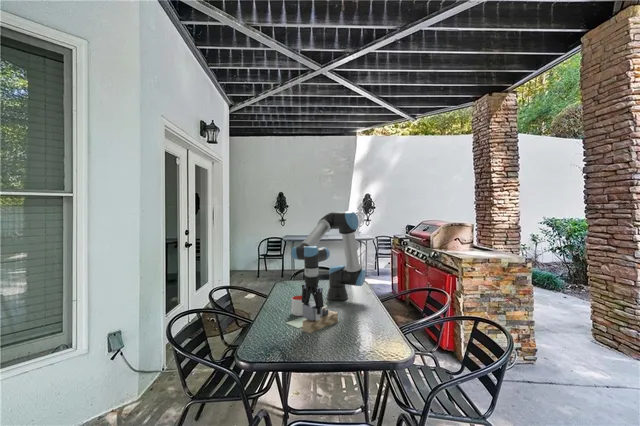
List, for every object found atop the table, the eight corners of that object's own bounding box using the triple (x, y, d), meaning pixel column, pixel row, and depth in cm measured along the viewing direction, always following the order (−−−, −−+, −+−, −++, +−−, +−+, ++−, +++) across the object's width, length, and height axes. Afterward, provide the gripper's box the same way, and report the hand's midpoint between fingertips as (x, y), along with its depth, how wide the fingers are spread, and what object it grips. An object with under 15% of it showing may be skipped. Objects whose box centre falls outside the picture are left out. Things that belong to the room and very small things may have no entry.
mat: (301, 317, 173) (301, 317, 173) (314, 322, 165) (314, 321, 165) (285, 323, 164) (285, 322, 164) (298, 328, 157) (298, 328, 157)
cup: (305, 317, 174) (305, 300, 174) (289, 316, 176) (289, 299, 176) (309, 311, 184) (309, 295, 184) (294, 310, 186) (294, 295, 186)
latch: (324, 313, 164) (323, 306, 164) (328, 315, 162) (328, 308, 162) (320, 315, 162) (320, 308, 162) (324, 316, 160) (324, 309, 160)
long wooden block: (330, 319, 170) (330, 310, 170) (337, 321, 166) (337, 312, 166) (302, 330, 154) (302, 321, 154) (309, 333, 150) (309, 323, 151)
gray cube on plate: (313, 313, 161) (313, 300, 161) (322, 316, 156) (322, 303, 156) (302, 317, 156) (302, 304, 156) (311, 320, 151) (311, 307, 151)
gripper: (294, 274, 160) (295, 315, 160) (320, 279, 146) (321, 325, 146) (304, 271, 165) (305, 312, 166) (330, 276, 151) (331, 321, 152)
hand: (312, 318), depth 156 cm, fingers closed on gray cube on plate, 7 cm apart
